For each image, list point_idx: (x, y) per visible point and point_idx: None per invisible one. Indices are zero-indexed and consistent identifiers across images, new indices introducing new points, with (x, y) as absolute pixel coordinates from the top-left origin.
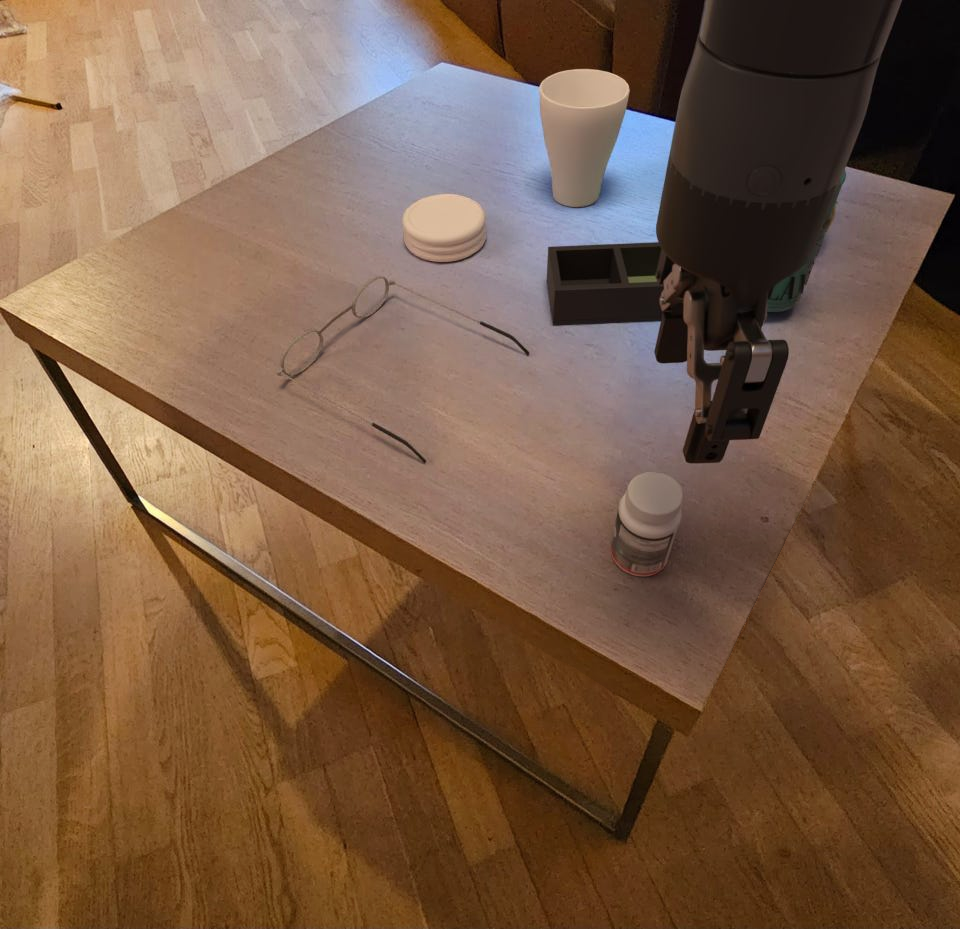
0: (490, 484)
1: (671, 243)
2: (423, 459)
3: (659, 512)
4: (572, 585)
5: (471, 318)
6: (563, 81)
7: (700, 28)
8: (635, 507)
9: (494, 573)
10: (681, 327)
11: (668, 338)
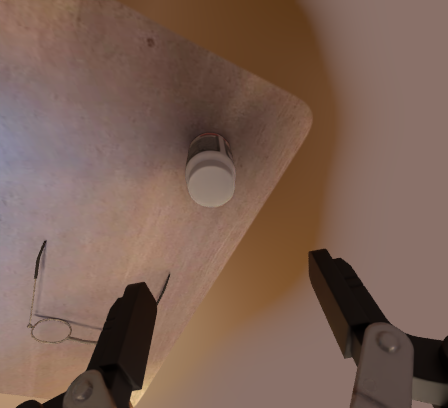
0: (175, 242)
1: None
2: (169, 276)
3: (233, 184)
4: (241, 191)
5: (34, 283)
6: None
7: None
8: (228, 200)
9: (238, 230)
10: (134, 355)
11: (145, 340)
